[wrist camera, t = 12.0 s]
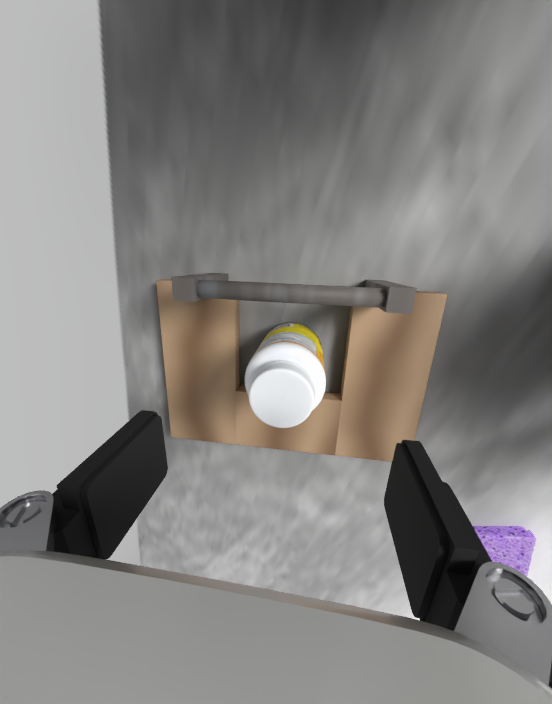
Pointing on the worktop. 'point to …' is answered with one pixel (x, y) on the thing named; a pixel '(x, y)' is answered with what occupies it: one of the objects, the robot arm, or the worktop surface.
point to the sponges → (508, 545)
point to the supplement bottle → (286, 375)
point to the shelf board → (334, 409)
